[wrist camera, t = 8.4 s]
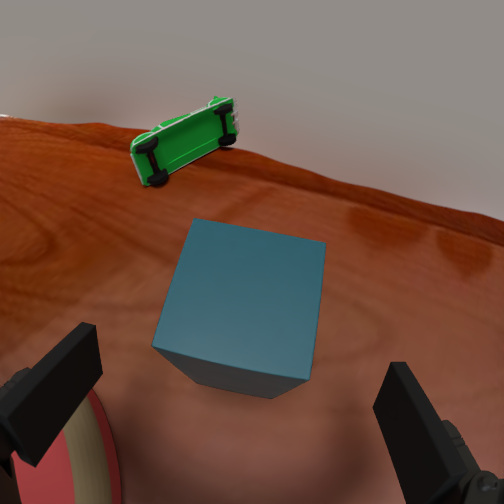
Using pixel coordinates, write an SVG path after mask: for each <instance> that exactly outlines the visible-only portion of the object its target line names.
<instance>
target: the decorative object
mask: <svg viewBox="0 0 504 504" xmlns="http://www.w3.org/2000/svg"><path fill="white" fill-rule="evenodd" d="M9 381H10V378H9ZM11 456H12V458H13V460H14V466H15V472H16V478H17V483H18V488H19V493H20V498H21V502H22V504H121V482H120V473H119V465H118V460H117V455H116V450H115V445H114V441H113V437H112V434H111V430H110V427H109V424H108V421H107V418H106V415H105V413H104V410H103V408H102V406H101V403H100V401H99V399H98V398H97V396H96V394H95V393H94V391H93V390H92V389H91V390H90V392H89V393H88V394H87V396H86V397H85V398H84V400H83V401H82V402H81V404H80V405H79V407H78V408H77V409H76V411H75V412H74V414H73V415H72V416H71V418H70V419H69V421H68V422H67V423H66V425H65V426H64V428H63V429H62V430H61V432H60V433H59V435H58V436H57V437H56V439H55V440H54V442H53V443H52V445H51V446H50V448H49V449H48V450H47V452H46V453H45V455H44V456H43V458H42V459H41V461H40V462H39V464H38V465H37V467H36V468H34V467H33V466H31V465H29V464H27V463H26V462H24V461H22V460H20V458H19V456H18V455H17V453H16V451H15V450H14V452H13V453H12V454H11Z"/></svg>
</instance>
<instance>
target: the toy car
mask: <svg viewBox="0 0 504 504" xmlns="http://www.w3.org/2000/svg"><path fill="white" fill-rule="evenodd" d="M237 113H238V112H237V104H236V99H235V98H234V97H230V98H225V97H222V98H218V97H217V96H215V97H214V99H213V100H212V101H210V102H209V103H208V104H207V106H206V107H203V108H201V109H199V110H196V111H194V112H192V113H189V114H187V115H183V116H180V117H177V118H174V119H171V120H168V121H165V122H163V123H161V124H160V125H159V126H156V127H155V128H153V129H152V131H151V132H147V133H143V134H141V135H139V136H137V137H136V138H135V139H134V140H133V141H132V143H131V145H130V149H131V150H130V152H132V153H131V154H130V155H131V158H132V160H133V163H134V165H135V168H136V170H137V173H138V175H139V178H140V180H141V183H142V184H143V185H144V184H145V185H146V186H148V185H157V184H161V183H162V182H164V181H165V180H166V179H167V178H168V175H169V174H170V173H172V172H174V171H176V170H178V169H179V168H181V167H183V166H185V165H186V164H188V163H190V162H192V161H194V160H196V159H197V158H199V157H201V156H203V155H205V154H207V153H209V152H211V151H212V150H214V149H216V148H218V147H220V146H228V145H232V144H234V143H235V142H236V137H237V135H238V133H239V123H238V114H237Z"/></svg>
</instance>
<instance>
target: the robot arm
mask: <svg viewBox="0 0 504 504" xmlns="http://www.w3.org/2000/svg"><path fill="white" fill-rule="evenodd" d="M102 374H103V371H102V365H101V359H100V353H99V346H98V339H97V332H96V325H92V324H88V323H84V322H81V323H80V324H79V325H78V326H77V327H76V328H75V329H74V330H72V331H71V332H70V333H69V334H68V335H67V336H66V337H65V338H64V339H63V340H62V341H60V342H59V343H58V344H57V345H56V346H55V347H54V348H53V349H52V350H51V351H50V352H49V353H48V354H46V355H45V356H44V357H43V358H42V359H41V360H40V361H39V362H38V363H37V364H36V365H35V366H34V367H33V368H32V369H30V368H28V367H27V368H25V369H23V370H20V371H18V372H17V373H16V374H15V375H13V376H12V377H11V378H10V381H7V382H6V383H5V384H4V386H2V387H1V388H0V504H22V502H21V498H20V493H19V488H18V483H17V478H16V472H15V466H14V460H13V458H12V456H11V454H12V453H13V452H14V450H15V451H16V453H17V455H18V456H19V458H20V460H22V461H24V462H26V463H27V464H29V465H31V466H33V467H34V468H36V467H37V465H38V464H39V462H40V461H41V459H42V458H43V456H44V455H45V453H46V452H47V450H48V449H49V448H50V446H51V445H52V443H53V442H54V440H55V439H56V437H57V436H58V435H59V433H60V432H61V430H62V429H63V428H64V426H65V425H66V423H67V422H68V421H69V419H70V418H71V416H72V415H73V414H74V412H75V411H76V409H77V408H78V407H79V405H80V404H81V402H82V401H83V400H84V398H85V397H86V396H87V394H88V393H89V392H90V390H91V389H92V388H93V386H94V385H95V383H96V382H97V381H98V379H99V378H100V377H101V375H102ZM373 410H374V413H375V415H376V418H377V421H378V423H379V426H380V429H381V432H382V434H383V437H384V440H385V443H386V445H387V448H388V451H389V454H390V457H391V459H392V462H393V465H394V468H395V471H396V474H397V477H398V480H399V483H400V486H401V489H402V492H403V495H404V498H405V501H406V504H504V479H498V478H497V477H496V476H495V475H494V474H493V473H491V472H489V471H481V470H480V468H479V466H478V464H477V463H476V461H475V459H474V457H473V456H472V454H471V452H470V450H469V448H468V447H467V445H465V442H464V440H463V438H461V435H460V433H459V431H458V430H457V428H456V427H455V426H454V425H453V424H452V423H451V422H449V421H448V420H443V421H441V420H440V418H439V416H438V414H437V413H436V411H435V409H434V408H433V406H432V404H431V403H430V401H429V399H428V398H427V396H426V394H425V393H424V391H423V389H422V388H421V386H420V384H419V383H418V381H417V379H416V378H415V376H414V375H413V373H412V371H411V370H410V368H409V367H408V365H407V364H406V362H391V363H390V366H389V368H388V371H387V373H386V376H385V378H384V381H383V384H382V386H381V388H380V391H379V393H378V396H377V398H376V400H375V403H374V405H373Z"/></svg>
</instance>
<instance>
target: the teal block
mask: <svg viewBox="0 0 504 504" xmlns="http://www.w3.org/2000/svg"><path fill="white" fill-rule="evenodd" d="M325 250H326V243H324V242H319V241H314V240H309V239H304V238H299V237H294V236H289V235H283V234H278V233H273V232H268V231H263V230H257V229H252V228H247V227H241V226H236V225H231V224H225V223H220V222H214V221H208V220H203V219H197V218H194V219H193V222H192V225H191V227H190V230H189V233H188V235H187V238H186V241H185V244H184V247H183V249H182V252H181V255H180V258H179V261H178V264H177V267H176V270H175V273H174V275H173V278H172V281H171V284H170V287H169V290H168V293H167V297H166V300H165V303H164V306H163V309H162V312H161V315H160V318H159V322H158V325H157V328H156V331H155V335H154V338H153V341H152V345H151V346H152V347H153V348H154V349H155V350H157V351H158V352H159V353H160V354H161V355H162V356H164V357H165V358H166V359H167V360H168V361H170V362H171V363H172V364H173V365H174V366H176V367H177V368H178V369H179V370H180V371H182V372H183V373H184V374H185V375H187V376H188V377H189V378H190V379H192V380H193V381H194V382H196V383H197V384H201V385H206V386H210V387H214V388H218V389H223V390H227V391H232V392H237V393H241V394H246V395H252V396H257V397H262V398H268V399H273V398H275V397H277V396H279V395H281V394H283V393H285V392H287V391H289V390H291V389H293V388H295V387H297V386H299V385H301V384H303V383H305V382H307V381H309V380H310V375H311V368H312V362H313V355H314V348H315V341H316V333H317V326H318V318H319V309H320V301H321V292H322V282H323V272H324V262H325Z"/></svg>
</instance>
